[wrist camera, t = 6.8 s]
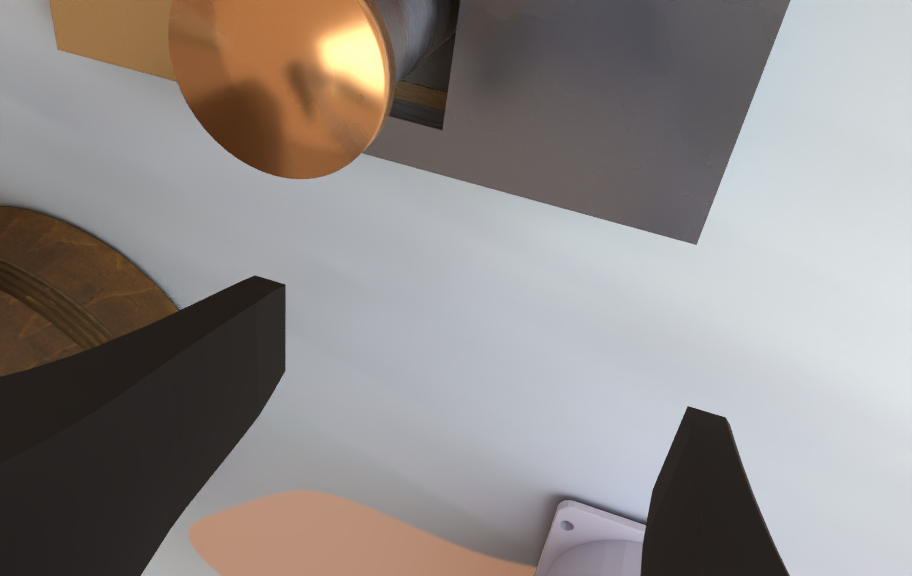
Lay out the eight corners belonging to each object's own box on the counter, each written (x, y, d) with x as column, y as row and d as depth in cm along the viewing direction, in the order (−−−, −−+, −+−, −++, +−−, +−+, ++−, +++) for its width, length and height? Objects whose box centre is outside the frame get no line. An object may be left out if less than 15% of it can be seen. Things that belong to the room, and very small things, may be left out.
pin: (484, 77, 21) (376, 201, 14) (339, 45, 21) (180, 151, 15) (508, -96, 18) (390, -33, 12) (343, -125, 19) (156, -79, 13)
